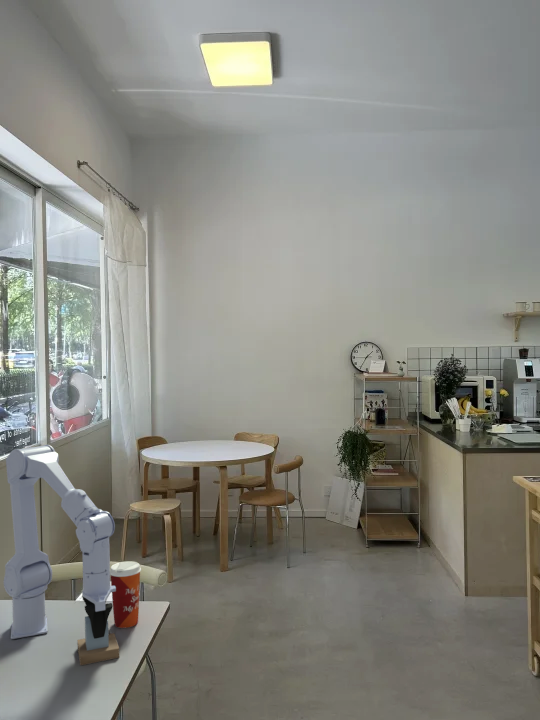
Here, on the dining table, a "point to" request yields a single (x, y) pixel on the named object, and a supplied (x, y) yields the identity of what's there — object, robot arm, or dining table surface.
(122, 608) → the paper cup
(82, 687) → the dining table surface
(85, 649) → the base
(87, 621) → the block
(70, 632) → the dining table surface
